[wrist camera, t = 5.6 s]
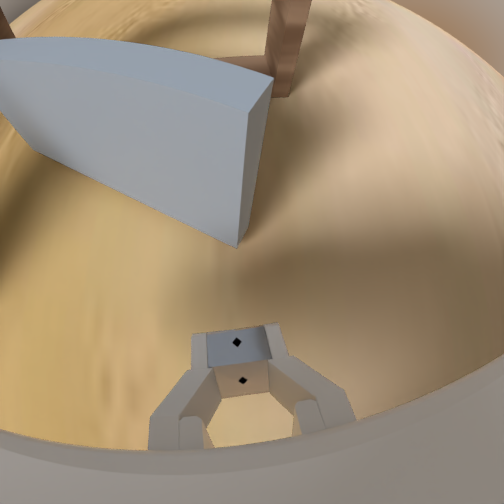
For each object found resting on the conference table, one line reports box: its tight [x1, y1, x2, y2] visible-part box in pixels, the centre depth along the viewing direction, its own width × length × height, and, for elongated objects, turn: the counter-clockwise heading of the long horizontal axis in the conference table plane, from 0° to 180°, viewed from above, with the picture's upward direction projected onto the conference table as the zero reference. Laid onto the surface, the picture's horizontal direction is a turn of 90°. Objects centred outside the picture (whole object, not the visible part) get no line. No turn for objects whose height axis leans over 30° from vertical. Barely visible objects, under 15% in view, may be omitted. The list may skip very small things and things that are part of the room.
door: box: [0, 37, 274, 249], centre depth 13 cm, size 2×20×12 cm, turn 64°
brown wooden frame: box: [0, 0, 312, 97], centre depth 14 cm, size 4×24×18 cm, turn 100°
